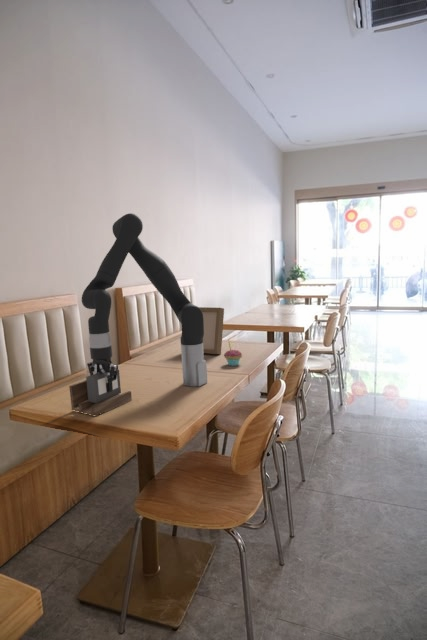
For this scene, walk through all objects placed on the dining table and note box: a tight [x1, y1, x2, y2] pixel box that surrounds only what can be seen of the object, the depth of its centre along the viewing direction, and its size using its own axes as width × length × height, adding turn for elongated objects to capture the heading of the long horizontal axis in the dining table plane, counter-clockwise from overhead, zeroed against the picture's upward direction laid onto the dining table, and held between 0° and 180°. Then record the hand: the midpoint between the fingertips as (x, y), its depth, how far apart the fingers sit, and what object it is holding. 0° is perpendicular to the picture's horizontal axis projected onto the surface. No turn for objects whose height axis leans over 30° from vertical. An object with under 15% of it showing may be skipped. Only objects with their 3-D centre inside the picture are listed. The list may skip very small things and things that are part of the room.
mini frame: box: [85, 369, 122, 403], centre depth 153 cm, size 4×12×9 cm, turn 147°
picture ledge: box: [68, 379, 133, 416], centre depth 154 cm, size 12×18×10 cm, turn 148°
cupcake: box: [223, 340, 243, 367], centre depth 203 cm, size 9×8×12 cm
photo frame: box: [198, 306, 225, 355], centre depth 233 cm, size 15×22×25 cm
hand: (104, 390), depth 153 cm, fingers closed on mini frame, 4 cm apart
